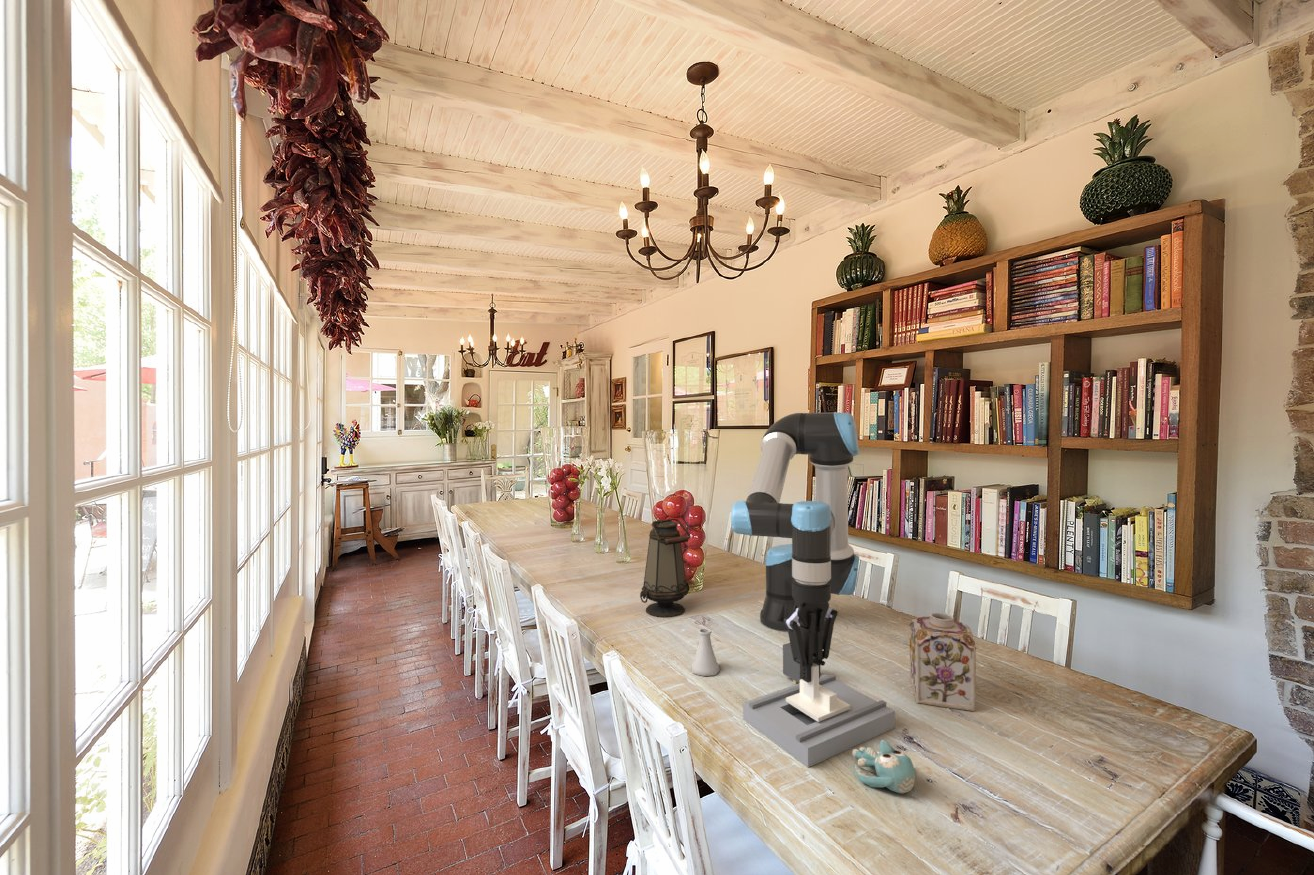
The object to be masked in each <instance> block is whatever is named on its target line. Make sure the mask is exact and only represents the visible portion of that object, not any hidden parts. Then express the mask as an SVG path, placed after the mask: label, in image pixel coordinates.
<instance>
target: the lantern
mask: <svg viewBox="0 0 1314 875" xmlns="http://www.w3.org/2000/svg"><path fill="white" fill-rule="evenodd" d="M678 524H679V525H680V527H681V528H682V529H683V531H684V532H685V533H686V535H683V536H681V533H680V531H679V529H678V528H677V526H679V525H678ZM651 527H652V529H651V530H649V534H648V536H649V540H648V547H647V554H646V555H647V556H646V562H645V571H644V578H643V579H644V580H643V585H642V587H641V591H640V595H639V597H640V600H641V602H642V603H643V604H646V603H647V602H648V600H650V601H652V602H654V603H650V604H649V605H648V606H647V607H646V608H645V612H646V614H647V615H649V616H652V617H655V618H663V619H664V618H665V619H666V618H668V619H669V618H675V617H679V616H681V615H683V614H685V612H686V608H685V607H684V605H682V604H681V603H677V602H678V601H681V600H682V599H684V598H685V596H687V595H688V593H689V591H690V586H689V583H688V582H687V577H686V570H685V562H684V556H683V549H682V544H683V543H688V542H689V539H691V534H690V533H689V531H688V530H687V529H686V527H685V526H684V525H683V523H682V521H681V520H680V519H678V518H677V517H676V518H675V517H674V518H670V517H669V518H666V519H658V520H655V521H652V523H651Z"/></svg>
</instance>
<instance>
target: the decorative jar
mask: <svg viewBox="0 0 1314 875" xmlns="http://www.w3.org/2000/svg"><path fill="white" fill-rule="evenodd" d="M909 627H910V628H909V677H910V678H909V679H910V682H911V687H912V690H913V695H914V699H915V702H916V704H921V705H926V706H927V705H929V706H934V707H941V708H949V709H954V710H963V711H969V712H974V711H975V710H976V700H977V699H976V698H977V697H976V693H977V690H976V689H977V658H976V656H977V653H976V650H977V647H976V642H975V639H974V635H973V632H972V630H971V628H970V627H969V626H968V624H966V623H963V622H961V621H958V620H955V618H954V616H953V615H951V614H948V613H947V612H940V611H939V612H931V613H930V615H927V616H921V617H919V616H918V617H917V618H913V619H911V622H910V624H909Z"/></svg>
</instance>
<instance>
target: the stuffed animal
mask: <svg viewBox="0 0 1314 875" xmlns="http://www.w3.org/2000/svg"><path fill="white" fill-rule="evenodd" d="M851 754H852V756H853V758H854V759H857V763H854V764H853V771H854V772H853V773H855V775H856V777H857V778H858V779H859V781H860V782H861V783H863V784H864V785H867V786H868V787H870V788H887V789H888V790H890V791H891V792H894V793H897V794H907V793H908V792H910V791H911V790H913V788H914V785H915V782H916V768H915V767H914V764H913V762H912V759H911V757H909V756H908V755H907V754H905V753H903V752H902V751H900V750H897V749H895V748H894V747H893V746H892V745H890V743H889V742H888V741H887V740H885V739H881V740H880V750H879V751H877V752H876V750H875V749H873V748H872V747H865V746H860V747H859V749H857V748H853V749H852V753H851ZM865 768H872V769H873V768H874V769H875V772H876V774H874V773H872V772H870V771H868V770H866V769H865Z"/></svg>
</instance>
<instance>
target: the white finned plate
mask: <svg viewBox="0 0 1314 875" xmlns="http://www.w3.org/2000/svg"><path fill="white" fill-rule="evenodd" d="M786 702H787V703H789V704H791V705H792V706H794V707H795V708H797V709H799V710H800V711H802V712H803V713H805V714H806V715H808V716H810V717H811V718H813V719H814V720H816V721H817V722H820V721H822V720H825V719H827V718H830V717H832V716H834V715H837V714H839V713H842V712H844V711H847V710H849V709H850V705H849V704H848V703H846V702H844V701H842V700H840V699H839V698H837V694H836V693H834V692H832V691H830V690H828V689H827V688H825V687H823V686H821V685H819V698H816V699H814V700H813V699H812V698H810V697H808V696H807V695H805V694H804V680H802V679H801V680H800V693H797V694H795V695H792V696H789V697H786Z"/></svg>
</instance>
